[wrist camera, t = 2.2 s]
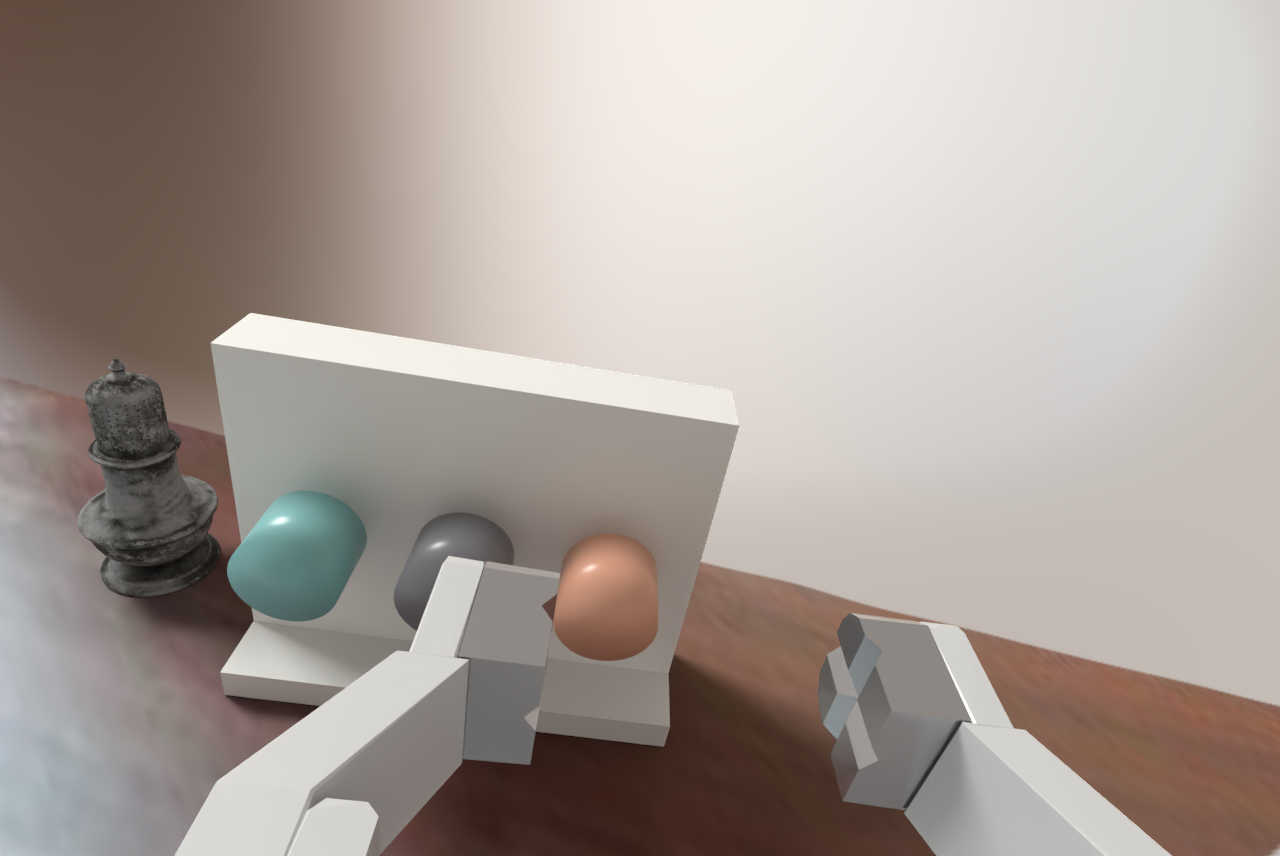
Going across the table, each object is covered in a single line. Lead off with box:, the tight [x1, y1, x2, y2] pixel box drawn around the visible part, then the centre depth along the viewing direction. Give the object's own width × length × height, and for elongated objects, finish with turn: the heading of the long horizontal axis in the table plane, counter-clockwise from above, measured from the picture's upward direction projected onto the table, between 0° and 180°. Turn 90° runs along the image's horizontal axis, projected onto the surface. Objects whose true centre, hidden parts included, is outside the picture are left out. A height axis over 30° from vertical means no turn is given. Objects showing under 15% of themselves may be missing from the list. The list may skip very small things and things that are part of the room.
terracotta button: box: [553, 534, 658, 661], centre depth 28 cm, size 4×3×4 cm
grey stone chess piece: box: [77, 358, 220, 597], centre depth 34 cm, size 6×6×12 cm
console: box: [211, 313, 739, 747], centre depth 31 cm, size 20×6×16 cm, turn 89°
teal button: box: [227, 491, 367, 622], centre depth 27 cm, size 4×3×4 cm
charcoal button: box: [394, 513, 514, 631], centre depth 27 cm, size 4×3×4 cm
